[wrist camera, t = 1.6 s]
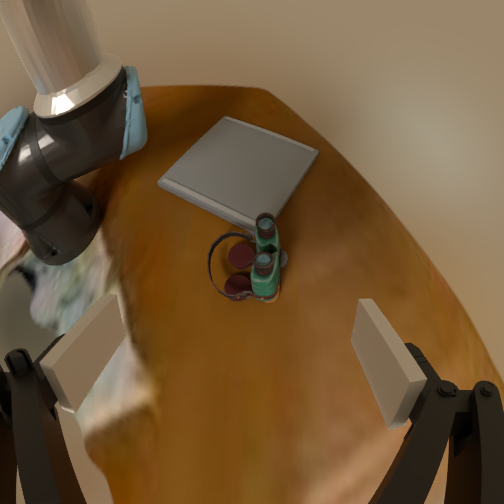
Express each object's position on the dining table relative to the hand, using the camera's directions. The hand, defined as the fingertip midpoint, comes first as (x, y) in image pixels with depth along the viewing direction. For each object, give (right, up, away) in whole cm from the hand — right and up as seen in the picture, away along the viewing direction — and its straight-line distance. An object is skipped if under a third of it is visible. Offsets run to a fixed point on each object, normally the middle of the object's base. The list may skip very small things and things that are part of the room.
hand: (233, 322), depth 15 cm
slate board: (-1, +18, +33) cm, 37 cm away
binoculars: (0, 0, +24) cm, 24 cm away
